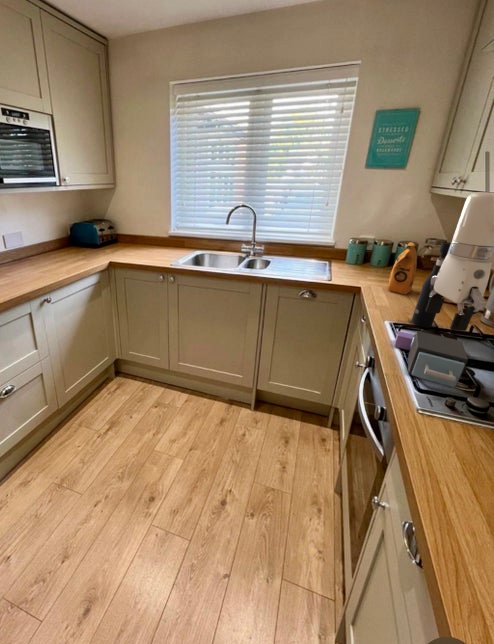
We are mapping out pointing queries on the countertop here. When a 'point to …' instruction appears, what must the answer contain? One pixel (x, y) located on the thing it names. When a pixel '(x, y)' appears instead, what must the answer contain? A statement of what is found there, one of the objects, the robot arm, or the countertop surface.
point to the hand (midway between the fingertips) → (444, 320)
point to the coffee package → (404, 271)
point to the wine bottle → (420, 313)
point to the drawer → (438, 368)
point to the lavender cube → (403, 340)
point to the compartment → (436, 349)
